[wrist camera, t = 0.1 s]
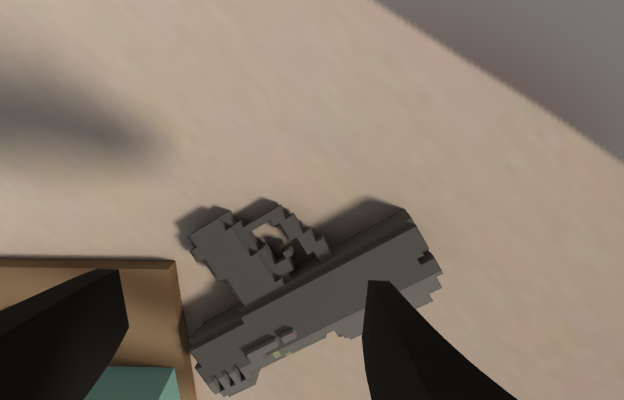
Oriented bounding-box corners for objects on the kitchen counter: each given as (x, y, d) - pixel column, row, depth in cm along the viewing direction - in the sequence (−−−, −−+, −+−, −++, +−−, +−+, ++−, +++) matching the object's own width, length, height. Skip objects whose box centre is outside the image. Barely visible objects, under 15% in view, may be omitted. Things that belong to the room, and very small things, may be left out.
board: (199, 419, 25) (179, 478, 22) (20, 416, 26) (-31, 473, 22) (175, 260, 21) (143, 301, 17) (-45, 257, 21) (-125, 297, 17)
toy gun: (117, 279, 19) (214, 412, 20) (363, 131, 16) (458, 298, 17) (152, 255, 22) (233, 370, 24) (359, 131, 19) (438, 270, 21)
